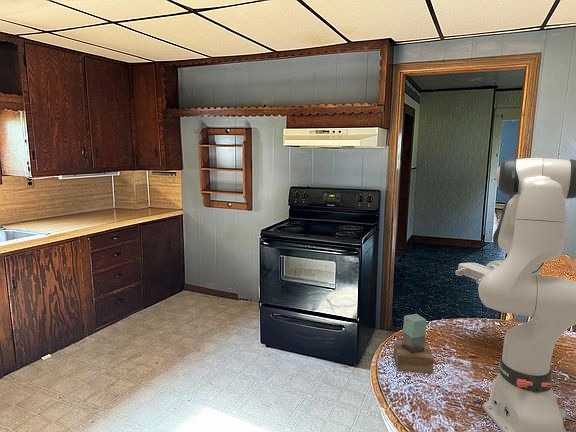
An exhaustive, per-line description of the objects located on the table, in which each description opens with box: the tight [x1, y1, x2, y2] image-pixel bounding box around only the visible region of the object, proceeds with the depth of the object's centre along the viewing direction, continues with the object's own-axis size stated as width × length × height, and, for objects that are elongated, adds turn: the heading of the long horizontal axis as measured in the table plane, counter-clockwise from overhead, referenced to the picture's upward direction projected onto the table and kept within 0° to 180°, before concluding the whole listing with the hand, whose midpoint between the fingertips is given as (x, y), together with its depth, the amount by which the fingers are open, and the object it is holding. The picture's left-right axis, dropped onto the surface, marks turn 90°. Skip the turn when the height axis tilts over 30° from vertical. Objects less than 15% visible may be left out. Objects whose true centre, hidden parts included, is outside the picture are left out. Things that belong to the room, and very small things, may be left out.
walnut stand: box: [393, 339, 435, 374], centre depth 135 cm, size 11×11×5 cm
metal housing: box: [402, 313, 427, 354], centre depth 134 cm, size 5×5×11 cm
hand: (467, 277), depth 139 cm, fingers open, 8 cm apart
